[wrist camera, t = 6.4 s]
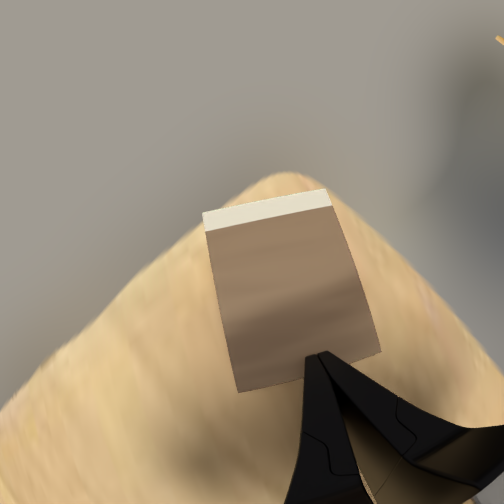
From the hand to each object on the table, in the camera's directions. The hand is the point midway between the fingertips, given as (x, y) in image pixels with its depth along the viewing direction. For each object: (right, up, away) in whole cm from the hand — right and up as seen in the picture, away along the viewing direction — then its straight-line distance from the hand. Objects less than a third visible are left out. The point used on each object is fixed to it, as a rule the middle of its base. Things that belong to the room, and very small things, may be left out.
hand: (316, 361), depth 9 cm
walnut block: (0, -2, +4) cm, 4 cm away
